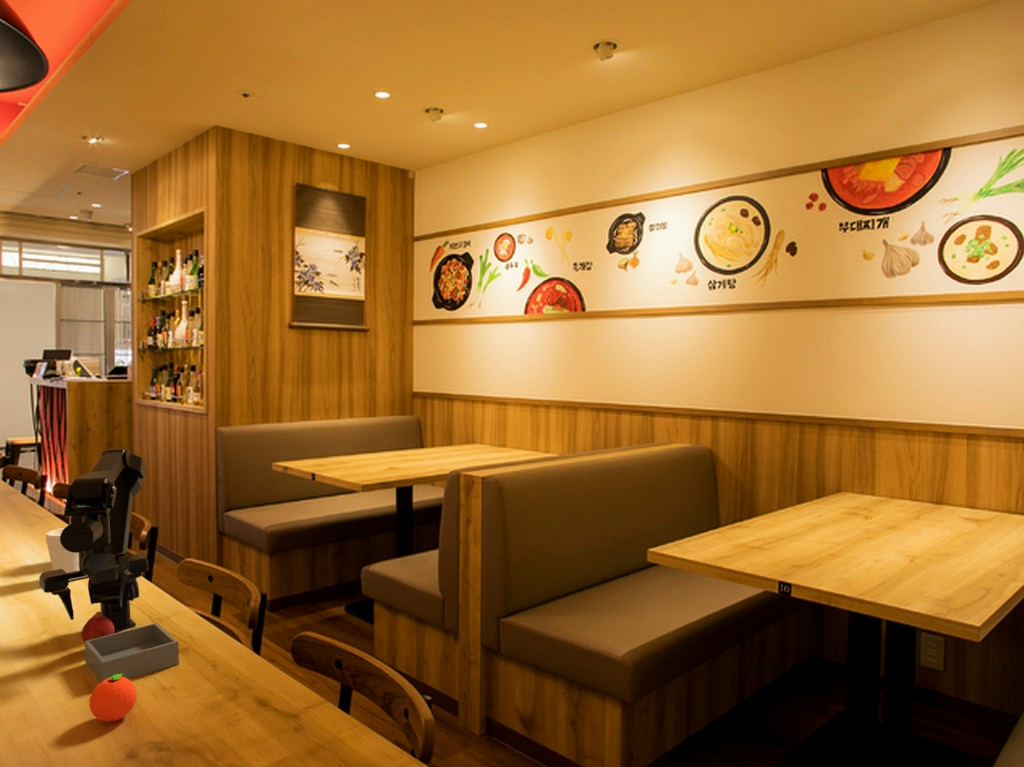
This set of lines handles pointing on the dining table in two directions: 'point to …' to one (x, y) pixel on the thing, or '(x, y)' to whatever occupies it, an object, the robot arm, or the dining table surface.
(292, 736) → the dining table surface
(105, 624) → the onion
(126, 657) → the bin
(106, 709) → the clementine
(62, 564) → the foam cup
